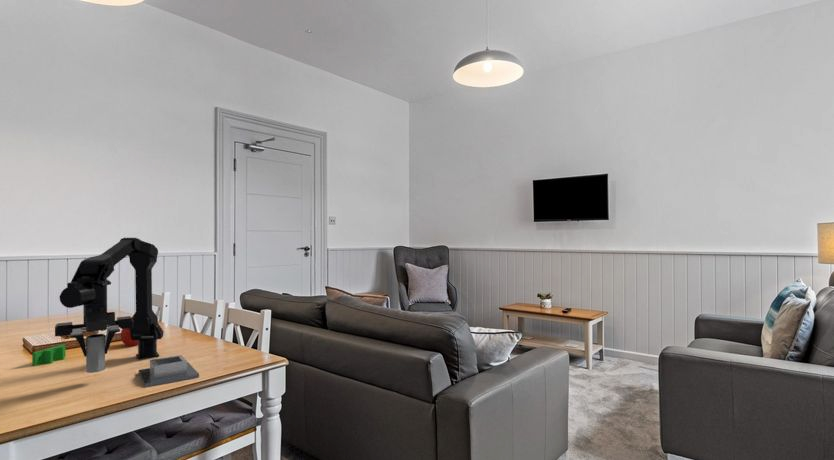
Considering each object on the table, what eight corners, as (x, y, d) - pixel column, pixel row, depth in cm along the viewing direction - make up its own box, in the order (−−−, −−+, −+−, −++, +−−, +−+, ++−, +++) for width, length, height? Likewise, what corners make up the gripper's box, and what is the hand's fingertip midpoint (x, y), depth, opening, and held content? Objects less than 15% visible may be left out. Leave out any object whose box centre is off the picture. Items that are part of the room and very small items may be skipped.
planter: (84, 373, 131) (84, 338, 131) (87, 369, 135) (87, 334, 135) (103, 371, 133) (103, 336, 133) (106, 367, 137) (106, 333, 137)
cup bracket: (138, 373, 142) (138, 358, 142) (187, 364, 151) (187, 351, 151) (145, 387, 130) (145, 371, 130) (199, 377, 138) (199, 362, 138)
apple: (149, 344, 179) (149, 316, 179) (127, 348, 172) (127, 320, 172) (138, 341, 183) (138, 314, 183) (116, 345, 176) (116, 318, 176)
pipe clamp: (42, 367, 150) (42, 353, 150) (32, 366, 150) (32, 352, 150) (72, 357, 161) (72, 344, 161) (62, 356, 162) (62, 343, 162)
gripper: (54, 309, 122) (54, 367, 122) (135, 302, 133) (136, 355, 133) (55, 303, 131) (55, 358, 131) (131, 297, 142) (131, 347, 142)
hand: (95, 354), depth 134 cm, fingers closed on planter, 4 cm apart
